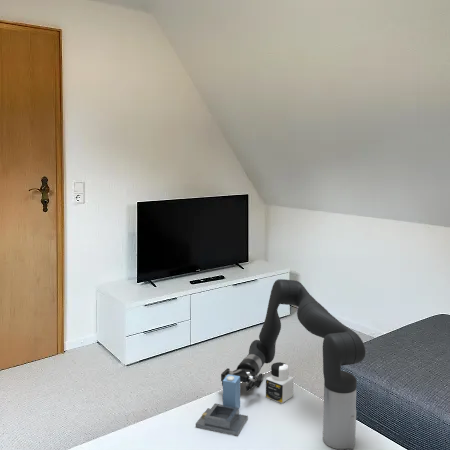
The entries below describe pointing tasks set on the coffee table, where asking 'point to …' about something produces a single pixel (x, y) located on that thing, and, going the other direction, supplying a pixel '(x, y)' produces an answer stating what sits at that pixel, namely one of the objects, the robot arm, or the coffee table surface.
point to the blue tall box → (231, 391)
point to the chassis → (222, 419)
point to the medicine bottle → (279, 383)
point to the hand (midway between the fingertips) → (235, 386)
